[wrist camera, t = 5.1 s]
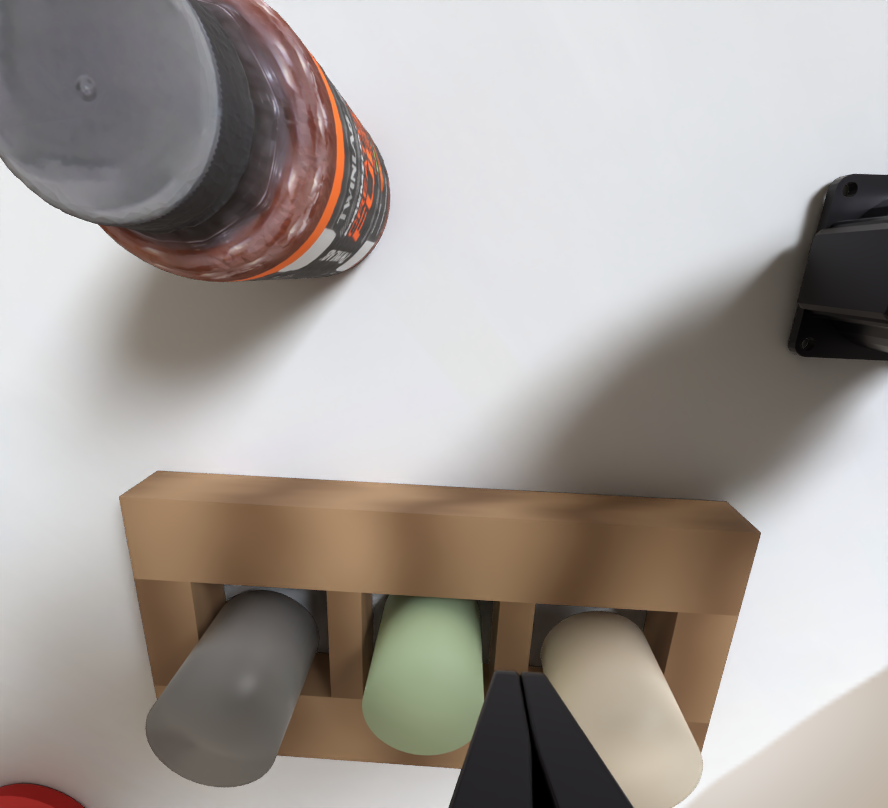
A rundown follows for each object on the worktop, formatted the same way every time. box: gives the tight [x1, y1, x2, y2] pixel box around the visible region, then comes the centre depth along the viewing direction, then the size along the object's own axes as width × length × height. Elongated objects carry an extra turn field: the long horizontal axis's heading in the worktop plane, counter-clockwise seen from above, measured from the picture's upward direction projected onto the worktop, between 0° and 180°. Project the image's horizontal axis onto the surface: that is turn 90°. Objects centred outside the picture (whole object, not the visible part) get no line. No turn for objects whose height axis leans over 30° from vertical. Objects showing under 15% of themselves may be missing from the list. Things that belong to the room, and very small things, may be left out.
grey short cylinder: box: [145, 590, 319, 787], centre depth 19 cm, size 5×5×5 cm
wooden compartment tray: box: [119, 471, 761, 769], centre depth 22 cm, size 26×14×2 cm, turn 88°
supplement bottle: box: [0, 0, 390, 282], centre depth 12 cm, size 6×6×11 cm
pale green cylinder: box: [362, 594, 484, 755], centre depth 20 cm, size 5×5×5 cm
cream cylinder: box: [541, 611, 703, 808], centre depth 19 cm, size 5×5×5 cm
